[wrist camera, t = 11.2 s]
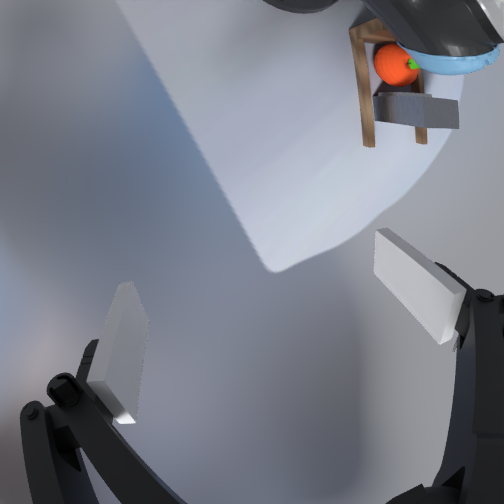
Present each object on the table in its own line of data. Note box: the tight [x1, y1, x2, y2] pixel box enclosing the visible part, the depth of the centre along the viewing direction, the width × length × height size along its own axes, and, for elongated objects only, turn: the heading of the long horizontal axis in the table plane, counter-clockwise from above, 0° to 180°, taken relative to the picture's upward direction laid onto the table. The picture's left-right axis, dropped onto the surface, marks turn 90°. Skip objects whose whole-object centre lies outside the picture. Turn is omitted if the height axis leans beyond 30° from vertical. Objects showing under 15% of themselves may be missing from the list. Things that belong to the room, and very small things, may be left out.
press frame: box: [349, 18, 427, 147], centre depth 34 cm, size 19×12×9 cm, turn 9°
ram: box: [373, 92, 459, 129], centre depth 34 cm, size 5×7×12 cm, turn 99°
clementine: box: [374, 44, 421, 87], centre depth 34 cm, size 8×7×7 cm
